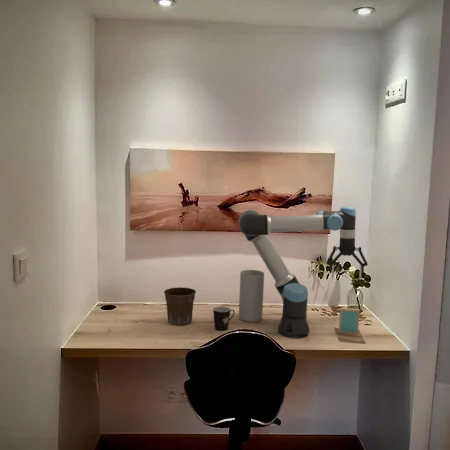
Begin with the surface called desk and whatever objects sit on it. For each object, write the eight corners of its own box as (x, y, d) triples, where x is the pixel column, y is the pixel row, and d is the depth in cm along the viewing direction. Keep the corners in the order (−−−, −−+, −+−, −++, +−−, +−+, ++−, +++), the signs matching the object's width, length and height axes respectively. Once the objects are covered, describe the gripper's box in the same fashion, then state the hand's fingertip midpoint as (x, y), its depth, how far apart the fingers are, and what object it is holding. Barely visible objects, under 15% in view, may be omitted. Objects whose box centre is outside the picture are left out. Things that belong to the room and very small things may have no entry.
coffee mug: (214, 332, 220) (214, 312, 219) (211, 326, 228) (211, 306, 227) (237, 331, 222) (238, 311, 221) (233, 325, 231) (234, 306, 229)
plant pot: (157, 323, 230) (157, 292, 228) (175, 314, 244) (175, 285, 242) (184, 329, 222) (184, 297, 220) (201, 320, 237) (201, 290, 234)
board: (333, 329, 229) (334, 327, 228) (358, 331, 227) (358, 329, 227) (339, 344, 210) (339, 341, 210) (365, 346, 209) (366, 343, 208)
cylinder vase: (253, 324, 233) (255, 276, 230) (234, 318, 241) (235, 272, 237) (266, 318, 243) (268, 272, 240) (247, 313, 251) (249, 268, 247)
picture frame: (338, 331, 223) (340, 307, 222) (357, 332, 222) (359, 309, 221) (339, 332, 221) (340, 309, 220) (358, 334, 220) (359, 310, 219)
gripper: (372, 236, 230) (371, 277, 233) (322, 235, 236) (321, 275, 239) (373, 239, 223) (372, 281, 226) (321, 237, 229) (321, 278, 232)
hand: (346, 278), depth 232 cm, fingers open, 13 cm apart
